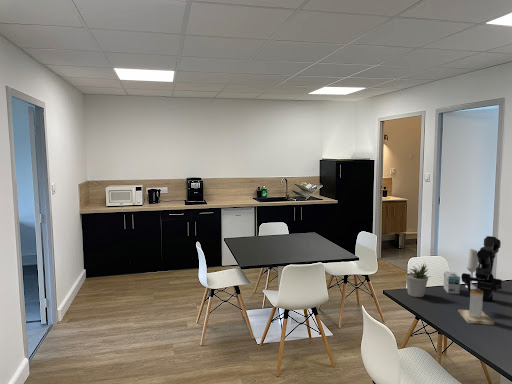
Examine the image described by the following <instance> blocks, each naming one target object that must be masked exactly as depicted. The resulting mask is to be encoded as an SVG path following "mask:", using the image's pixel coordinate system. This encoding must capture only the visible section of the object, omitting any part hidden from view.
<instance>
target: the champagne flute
mask: <svg viewBox="0 0 512 384" xmlns="http://www.w3.org/2000/svg"><path fill="white" fill-rule="evenodd" d="M477 253H478V250H477V249H473V248H470V249H468V252H467V258H466V264H465V265H466V266H465V267H466V269H467V270H468V272H469V273H470V276H471V277H474V273H476V268H478V264H479V263H478V258H477ZM470 283H471V288H470V290H472V289H476V290H478V289H477V287H476V286H475V285H474V284H473V281H471V282H470ZM465 288H466V289H468V286H467V284H465Z"/></svg>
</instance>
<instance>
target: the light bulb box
mask: <svg viewBox="0 0 512 384" xmlns="http://www.w3.org/2000/svg"><path fill="white" fill-rule="evenodd" d="M460 284H461V277H460V275H458V274H457V272H454V271H445V270H444V271H443V287H442V288H443V289H444V290H445V292H447V294H453V295H460V288H461V287H460V286H461V285H460Z"/></svg>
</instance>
